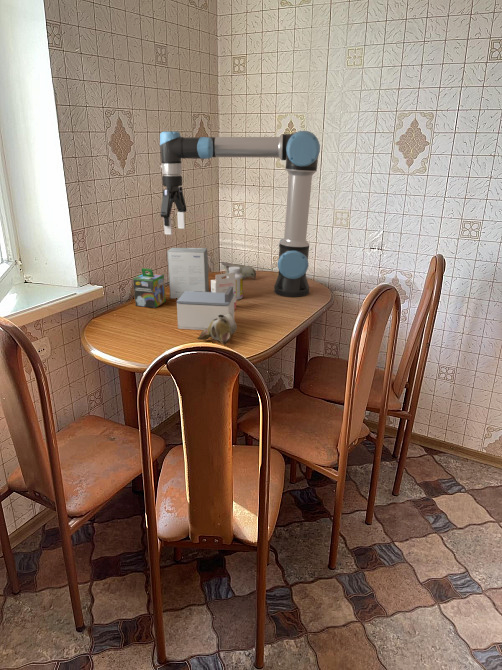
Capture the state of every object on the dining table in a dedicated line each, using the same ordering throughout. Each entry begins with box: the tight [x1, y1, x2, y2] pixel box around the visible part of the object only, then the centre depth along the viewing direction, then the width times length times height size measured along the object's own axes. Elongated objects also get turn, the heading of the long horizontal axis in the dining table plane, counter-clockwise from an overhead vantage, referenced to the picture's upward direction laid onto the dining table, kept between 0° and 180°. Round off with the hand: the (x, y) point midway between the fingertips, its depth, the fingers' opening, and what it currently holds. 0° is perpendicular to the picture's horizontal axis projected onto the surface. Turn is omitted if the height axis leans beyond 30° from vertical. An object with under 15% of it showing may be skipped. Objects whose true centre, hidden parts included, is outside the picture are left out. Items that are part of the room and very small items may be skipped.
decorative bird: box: [219, 260, 257, 281], centre depth 238 cm, size 6×17×8 cm, turn 77°
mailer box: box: [176, 296, 235, 331], centre depth 180 cm, size 18×12×9 cm, turn 83°
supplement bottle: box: [226, 267, 244, 301], centre depth 209 cm, size 7×7×13 cm
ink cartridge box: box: [210, 272, 237, 310], centre depth 195 cm, size 9×5×15 cm, turn 117°
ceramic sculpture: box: [196, 312, 238, 345], centre depth 168 cm, size 11×9×15 cm
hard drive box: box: [166, 247, 210, 300], centre depth 209 cm, size 16×8×20 cm, turn 84°
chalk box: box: [132, 267, 167, 309], centre depth 200 cm, size 9×9×15 cm
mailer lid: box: [176, 286, 234, 306], centre depth 178 cm, size 18×12×4 cm, turn 83°
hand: (175, 231), depth 201 cm, fingers open, 13 cm apart
